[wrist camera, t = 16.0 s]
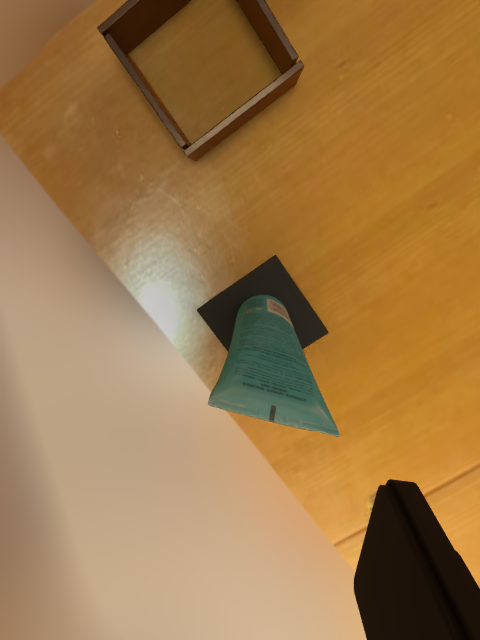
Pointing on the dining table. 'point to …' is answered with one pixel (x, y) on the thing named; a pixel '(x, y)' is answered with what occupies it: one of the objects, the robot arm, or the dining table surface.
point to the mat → (263, 282)
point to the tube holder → (155, 9)
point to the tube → (270, 371)
